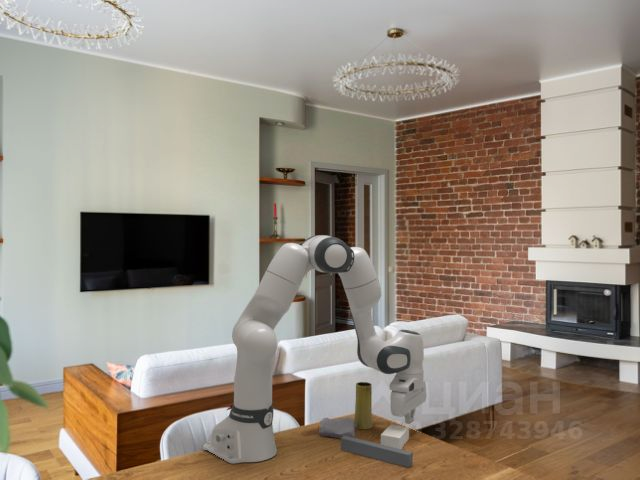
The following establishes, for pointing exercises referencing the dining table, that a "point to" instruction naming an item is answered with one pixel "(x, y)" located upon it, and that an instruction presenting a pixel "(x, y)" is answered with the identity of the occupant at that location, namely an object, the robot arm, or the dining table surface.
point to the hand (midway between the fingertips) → (409, 422)
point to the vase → (363, 405)
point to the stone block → (337, 427)
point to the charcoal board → (377, 451)
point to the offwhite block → (395, 436)
